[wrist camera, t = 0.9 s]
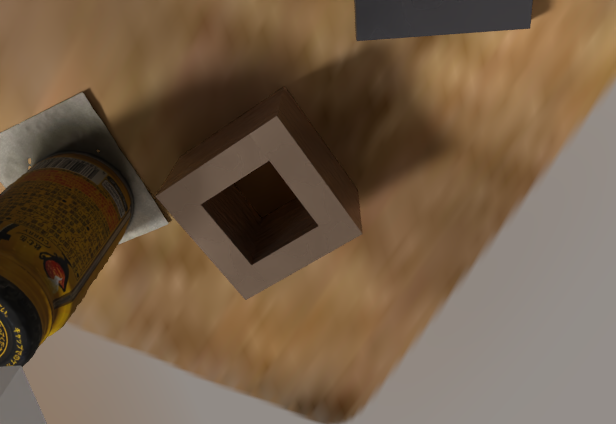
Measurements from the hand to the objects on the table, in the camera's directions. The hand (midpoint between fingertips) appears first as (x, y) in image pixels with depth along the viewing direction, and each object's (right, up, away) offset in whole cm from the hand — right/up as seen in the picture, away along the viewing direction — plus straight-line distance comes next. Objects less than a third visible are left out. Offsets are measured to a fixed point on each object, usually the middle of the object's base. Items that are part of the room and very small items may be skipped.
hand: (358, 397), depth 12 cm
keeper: (+5, +16, +15) cm, 23 cm away
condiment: (-14, +5, +22) cm, 26 cm away
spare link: (-3, +6, +21) cm, 22 cm away
